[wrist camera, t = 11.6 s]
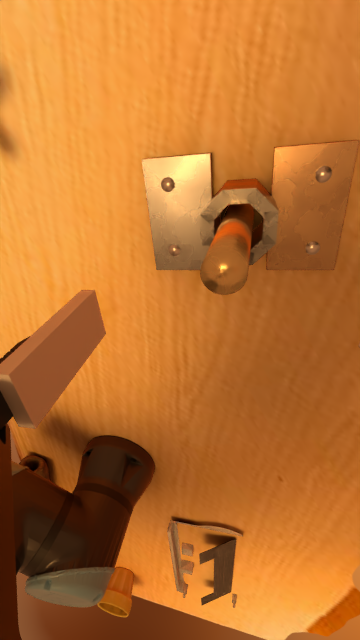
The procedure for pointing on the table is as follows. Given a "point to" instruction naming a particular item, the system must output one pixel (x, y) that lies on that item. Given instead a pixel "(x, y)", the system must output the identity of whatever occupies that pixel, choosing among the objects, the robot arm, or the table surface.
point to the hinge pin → (229, 251)
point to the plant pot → (118, 593)
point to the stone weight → (36, 465)
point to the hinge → (276, 208)
